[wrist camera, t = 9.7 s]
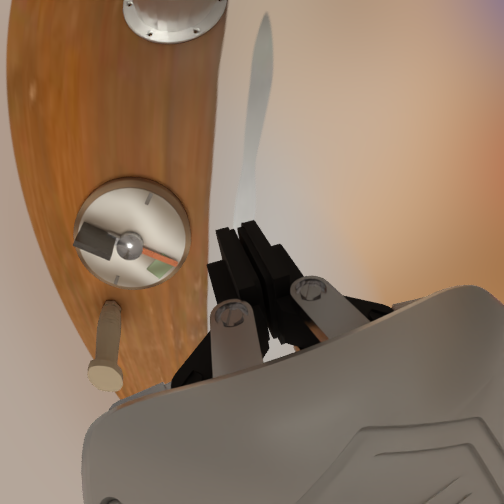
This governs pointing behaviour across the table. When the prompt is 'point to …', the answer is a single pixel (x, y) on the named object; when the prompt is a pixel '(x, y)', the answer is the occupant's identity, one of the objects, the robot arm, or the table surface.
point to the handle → (107, 350)
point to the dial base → (143, 223)
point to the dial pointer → (103, 244)
